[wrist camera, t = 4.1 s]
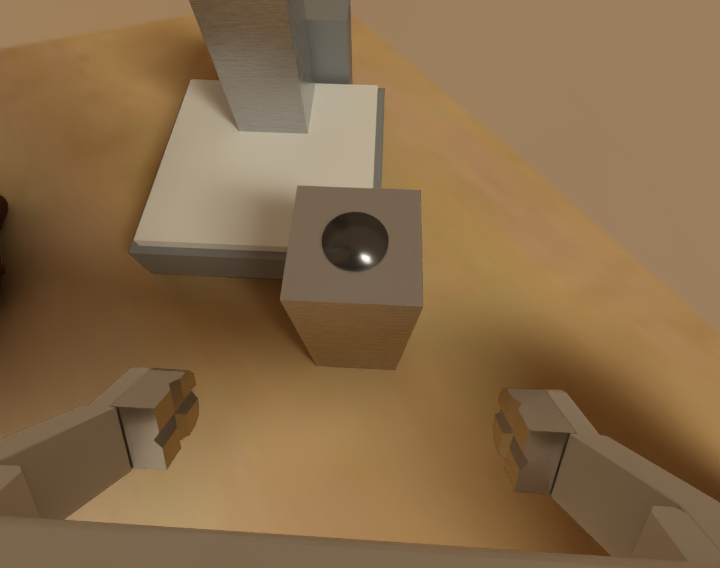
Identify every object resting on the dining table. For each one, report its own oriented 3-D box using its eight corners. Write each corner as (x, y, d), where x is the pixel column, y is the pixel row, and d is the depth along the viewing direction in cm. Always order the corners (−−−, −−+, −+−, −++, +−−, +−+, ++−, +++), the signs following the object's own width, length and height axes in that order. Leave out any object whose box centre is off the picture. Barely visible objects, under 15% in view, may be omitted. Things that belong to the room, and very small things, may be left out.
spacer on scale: (239, 131, 23) (159, -77, 14) (251, 84, 25) (187, -128, 16) (307, 133, 23) (272, -75, 14) (315, 86, 25) (288, -126, 16)
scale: (152, 273, 23) (70, 204, 16) (213, 83, 30) (172, -17, 23) (376, 283, 22) (383, 218, 16) (383, 88, 29) (390, -11, 23)
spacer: (316, 366, 20) (278, 298, 11) (323, 293, 22) (296, 183, 13) (395, 369, 20) (423, 305, 11) (396, 296, 22) (421, 188, 13)
